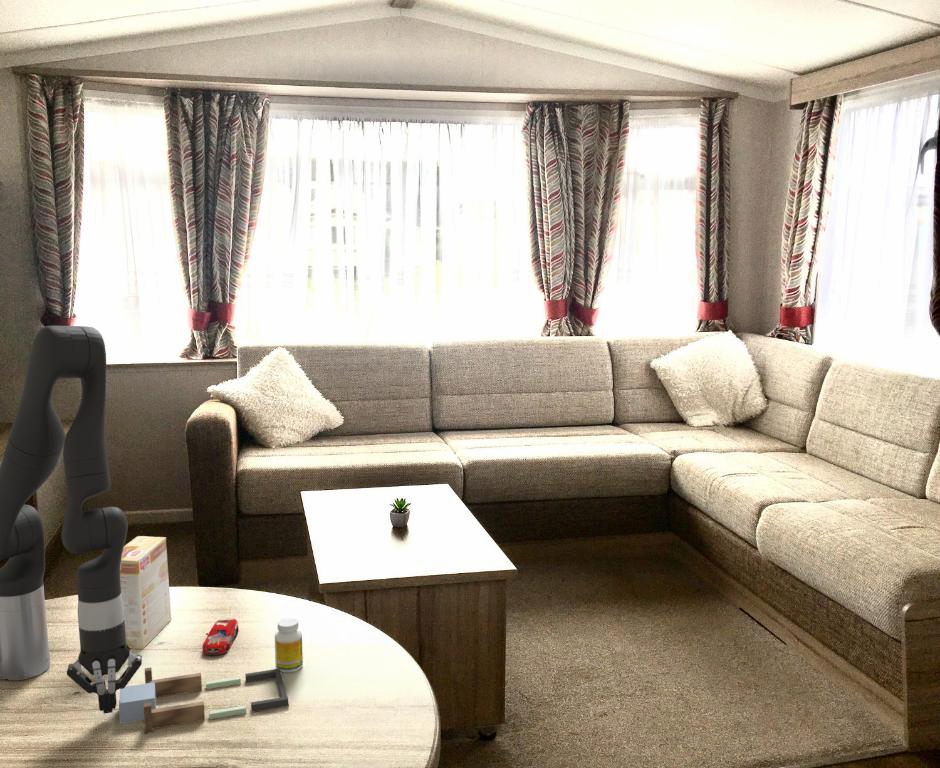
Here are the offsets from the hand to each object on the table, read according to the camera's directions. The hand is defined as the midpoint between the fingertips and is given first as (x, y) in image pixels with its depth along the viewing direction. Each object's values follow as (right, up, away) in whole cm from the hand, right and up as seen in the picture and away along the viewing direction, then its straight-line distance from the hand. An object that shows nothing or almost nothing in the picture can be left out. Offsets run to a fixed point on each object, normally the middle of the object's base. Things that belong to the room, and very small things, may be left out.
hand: (108, 710), depth 162 cm
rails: (+19, 0, +7) cm, 20 cm away
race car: (+12, +3, +30) cm, 33 cm away
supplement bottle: (+28, +2, +19) cm, 35 cm away
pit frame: (+26, 0, +9) cm, 27 cm away
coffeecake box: (-6, +4, +35) cm, 36 cm away
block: (+4, -1, +3) cm, 5 cm away
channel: (+11, -1, +4) cm, 11 cm away
